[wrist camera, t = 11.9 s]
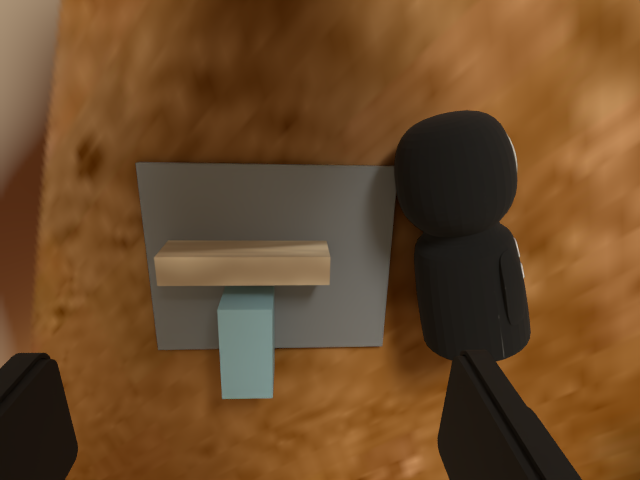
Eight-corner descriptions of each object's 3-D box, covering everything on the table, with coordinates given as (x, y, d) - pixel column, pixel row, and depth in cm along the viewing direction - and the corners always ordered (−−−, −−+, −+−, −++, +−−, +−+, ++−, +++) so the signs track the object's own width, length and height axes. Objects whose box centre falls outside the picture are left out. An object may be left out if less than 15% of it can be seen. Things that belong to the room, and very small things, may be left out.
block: (217, 309, 34) (222, 399, 37) (272, 309, 34) (272, 398, 37) (225, 285, 38) (229, 367, 41) (274, 285, 38) (274, 367, 41)
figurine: (556, 332, 35) (542, 93, 29) (487, 389, 31) (452, 127, 25) (466, 300, 43) (439, 106, 37) (403, 342, 39) (359, 133, 33)
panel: (137, 161, 34) (135, 162, 34) (396, 166, 36) (398, 167, 35) (159, 346, 40) (158, 349, 40) (381, 342, 42) (382, 346, 41)
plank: (168, 240, 36) (153, 257, 32) (326, 240, 37) (330, 257, 34) (170, 266, 37) (157, 285, 33) (325, 266, 38) (329, 284, 34)
